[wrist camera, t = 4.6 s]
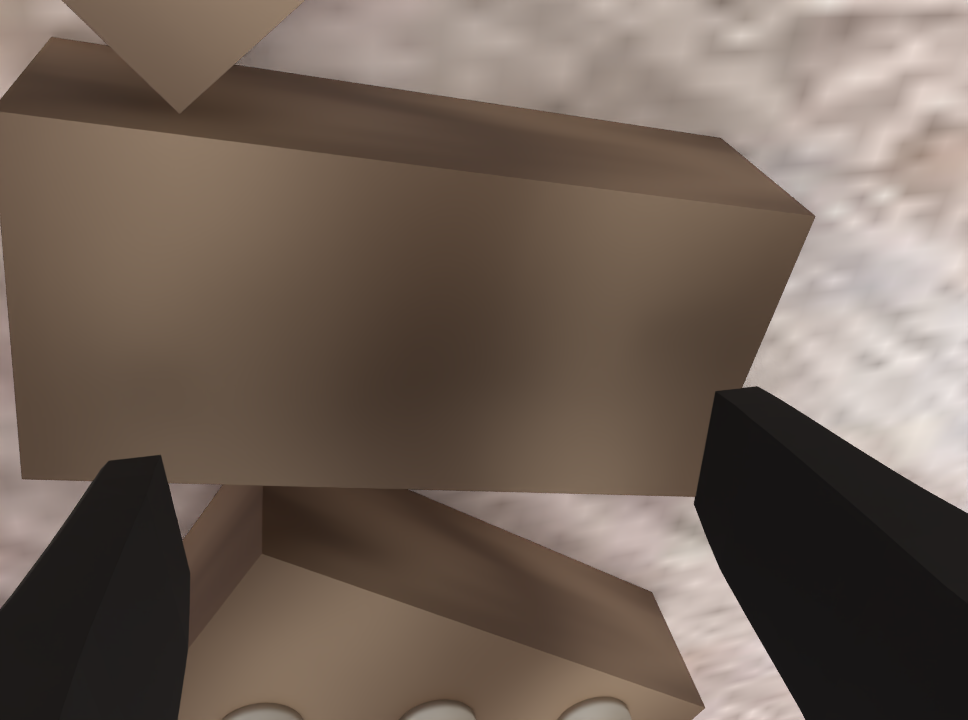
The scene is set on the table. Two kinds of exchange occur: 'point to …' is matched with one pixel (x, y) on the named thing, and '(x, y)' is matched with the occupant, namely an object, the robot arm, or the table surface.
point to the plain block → (372, 284)
